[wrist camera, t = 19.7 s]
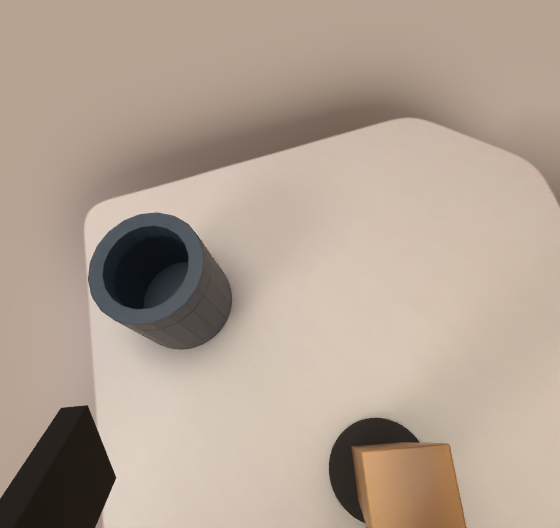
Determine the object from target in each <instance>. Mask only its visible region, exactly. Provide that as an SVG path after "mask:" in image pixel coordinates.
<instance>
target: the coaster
mask: <svg viewBox="0 0 560 528" xmlns="http://www.w3.org/2000/svg"><path fill="white" fill-rule="evenodd" d="M397 442H408V443H420V442H419V441H418V440H417V438H416V437H415V436H414V435H413V434H412V433H411V432H410V431H409V430H408V429H406V428H405V427H403V426H402V425H400V424H398V423H396V422H393V421H391V420H387V419H383V418H369V419H364V420H361V421H358V422H356V423H354V424H352V425H351V426H349V427H348V428H347V429H345V430H344V431H343V432H342V433H341V435H340V436H339V437H338V439H337V440H336V442H335V444H334V446H333V448H332V452H331V455H330V461H329V475H330V481H331V485H332V488H333V491H334V493H335V495H336V497H337V499H338V500H339V502H340V503H341V505H342V506H343V507H344V508H345V509H346V510H347V511H348V512H349V513H350V514H351V515H352V516H353V517H355V518H356V519H358V520H360V521H361V522H364V523H365V520H364V516H363V513H362V510H361V507H360V504H359V501H358V494H357V486H356V479H355V471H354V463H353V456H352V446H362V445H374V444H385V443H397Z"/></svg>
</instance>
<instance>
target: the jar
mask: <svg viewBox="0 0 560 528" xmlns="http://www.w3.org/2000/svg"><path fill="white" fill-rule="evenodd" d="M88 282H89V286H90V291H91V295H92V298H93V299H94V301H95V302H96V304H97V305H98V307H99V308H100V310H101V311H102V312H103V313H105V314H106V315H108V316H109V317H111V318H112V319H113V320H115V321H117V322H119V323H121V324H123V325H124V326H126V327H128V328H130V329H132V330H134V331H136V332H137V333H139V334H141V335H143V336H145V337H147V338H149V339H151V340H152V341H154V342H156V343H158V344H160V345H163V346H166V347H168V348H173V349H189V348H193V347H196V346H199V345H201V344H203V343H205V342H207V341H208V340H210V339H211V338H212V337H214V336H215V335H216V334H217V333H218V332H219V331H220V329H221V328H222V327H223V325H224V324H225V322H226V320H227V318H228V316H229V313H230V309H231V303H232V294H231V288H230V285H229V282H228V280H227V278H226V276H225V274H224V273H223V271H222V270H221V269H220V267H219V266H218V264H217V263H216V261H215V260H214V258H213V257H212V256H211V254H210V253H209V251H208V250H207V248H206V247H205V245H204V244H203V243H202V241H201V240H200V238H199V237H198V235H197V234H196V233H195V232H194V231H193V229H192V228H191V227H190V226H189V225H188V224H187V223H186V222H184V221H182V220H180V219H179V218H177V217H175V216H172V215H167V214H162V213H148V214H141V215H140V214H139V215H137V216H134V217H132V218H129V219H127V220H124V221H123V222H121V223H120V224H119V225H117V226H116V227H114V228H113V229H112V230H110V231H109V232H108V233H107V234H106V236H105V237H104V238H103V239H102V241H101V242H100V243H99V244H98V246H97V247H96V250H95V252H94V254H93V257H92V259H91V261H90V267H89V276H88Z"/></svg>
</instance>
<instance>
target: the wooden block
mask: <svg viewBox="0 0 560 528" xmlns="http://www.w3.org/2000/svg"><path fill="white" fill-rule="evenodd" d="M352 456H353V463H354V471H355V479H356V486H357V494H358V501H359V504H360V507H361V510H362V513H363V516H364V520H365V523H366V526H367V528H466V523H465V518H464V513H463V508H462V503H461V498H460V493H459V489H458V484H457V479H456V474H455V469H454V464H453V459H452V454H451V449H450V445H449V444H445V443H408V442H397V443H385V444H374V445H362V446H352Z"/></svg>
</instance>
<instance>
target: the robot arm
mask: <svg viewBox="0 0 560 528" xmlns="http://www.w3.org/2000/svg"><path fill="white" fill-rule="evenodd" d="M115 479H116V476H115V473H114V471H113V468H112V466H111V463H110V461H109V458H108V456H107V453H106V451H105V448H104V446H103V443H102V441H101V438H100V435H99V433H98V430H97V428H96V425H95V423H94V420H93V418H92V415H91V413H90V410H89V408H88V406H76V407H66V408H61V409H60V410H59V412H58V413H57V415H56V416H55V418H54V419H53V421H52V422H51V424H50V425H49V427H48V429H47V430H46V431H45V433H44V434H43V436H42V437H41V439H40V440H39V442H38V443H37V445H36V446H35V448H34V449H33V451H32V452H31V454H30V455H29V457H28V458H27V460H26V461H25V463H24V464H23V466H22V467H21V469H20V470H19V472H18V473H17V475H16V476H15V478H14V479H13V481H12V482H11V484H10V485H9V487H8V488H7V490H6V491H5V493H4V494H3V496H2V497H1V499H0V528H95V527H96V524H97V522H98V519H99V517H100V515H101V512H102V510H103V508H104V505H105V503H106V501H107V498H108V496H109V493H110V491H111V489H112V486H113V484H114V482H115Z"/></svg>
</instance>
